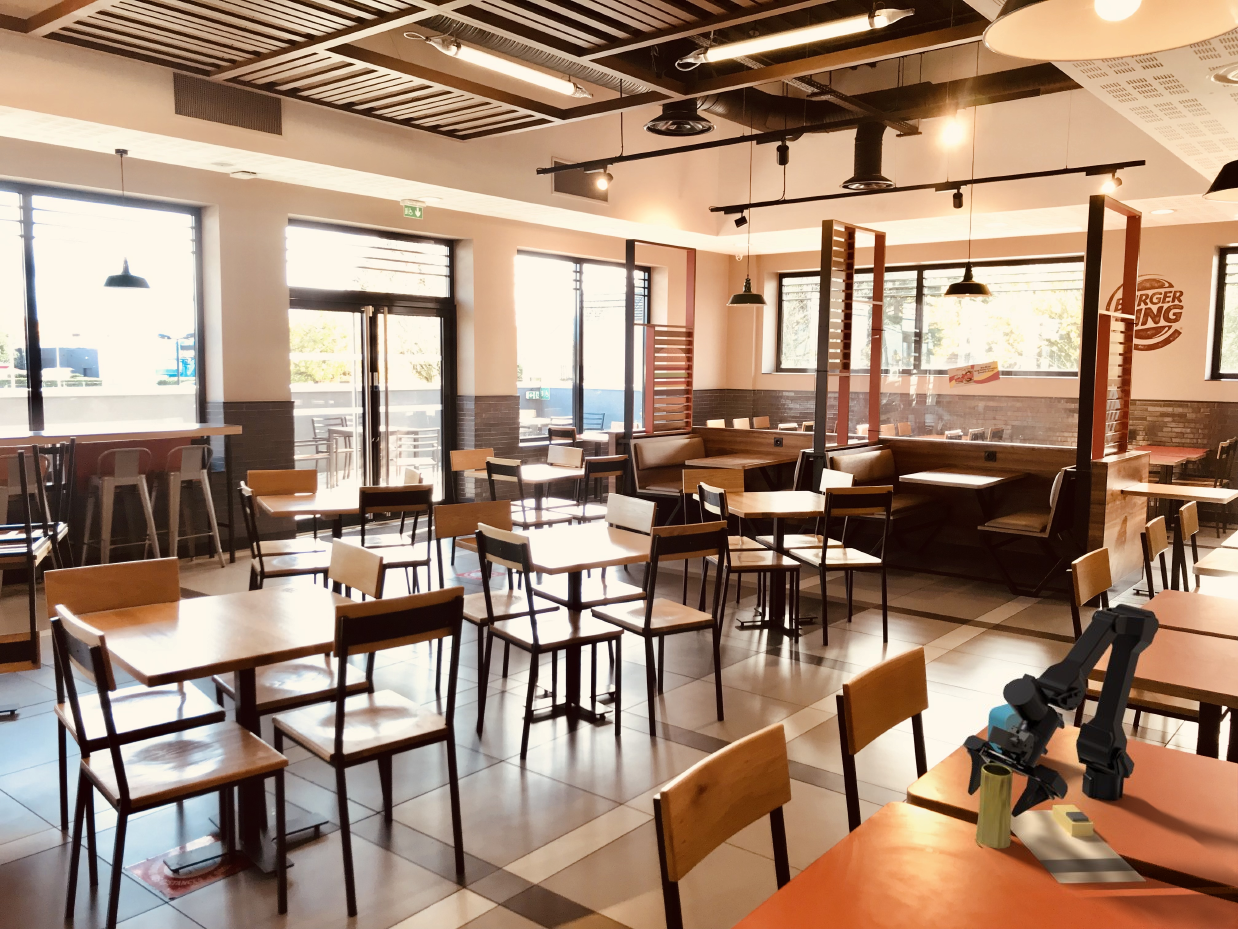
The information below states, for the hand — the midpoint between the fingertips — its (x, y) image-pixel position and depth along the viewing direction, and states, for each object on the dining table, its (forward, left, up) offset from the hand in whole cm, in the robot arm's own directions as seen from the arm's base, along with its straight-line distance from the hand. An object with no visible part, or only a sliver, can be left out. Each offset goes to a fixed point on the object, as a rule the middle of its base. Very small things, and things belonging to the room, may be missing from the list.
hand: (990, 804), depth 168 cm
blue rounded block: (-21, -35, -8) cm, 41 cm away
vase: (-1, -1, -8) cm, 8 cm away
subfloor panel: (-14, +1, -8) cm, 16 cm away
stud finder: (-18, -5, -7) cm, 20 cm away
